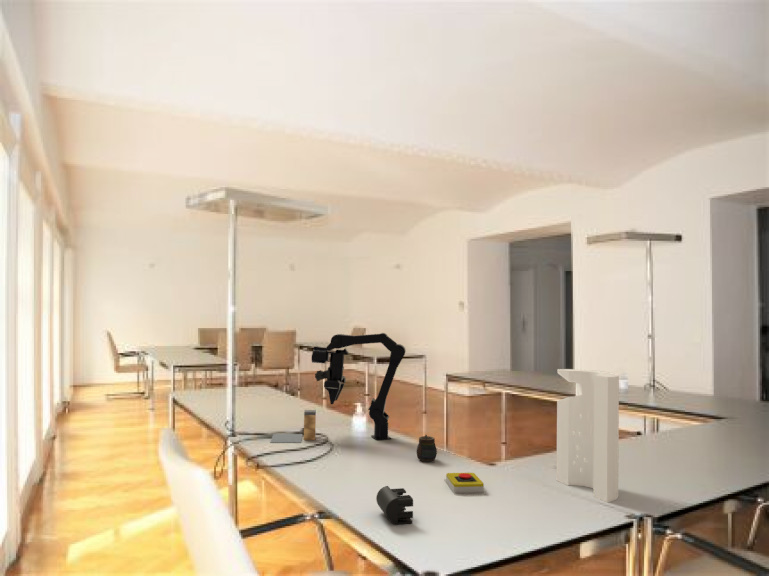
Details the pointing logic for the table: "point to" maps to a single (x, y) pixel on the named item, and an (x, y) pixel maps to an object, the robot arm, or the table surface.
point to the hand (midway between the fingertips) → (333, 402)
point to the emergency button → (464, 484)
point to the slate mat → (286, 438)
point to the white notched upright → (589, 433)
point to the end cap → (395, 505)
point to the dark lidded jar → (426, 449)
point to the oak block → (309, 424)
